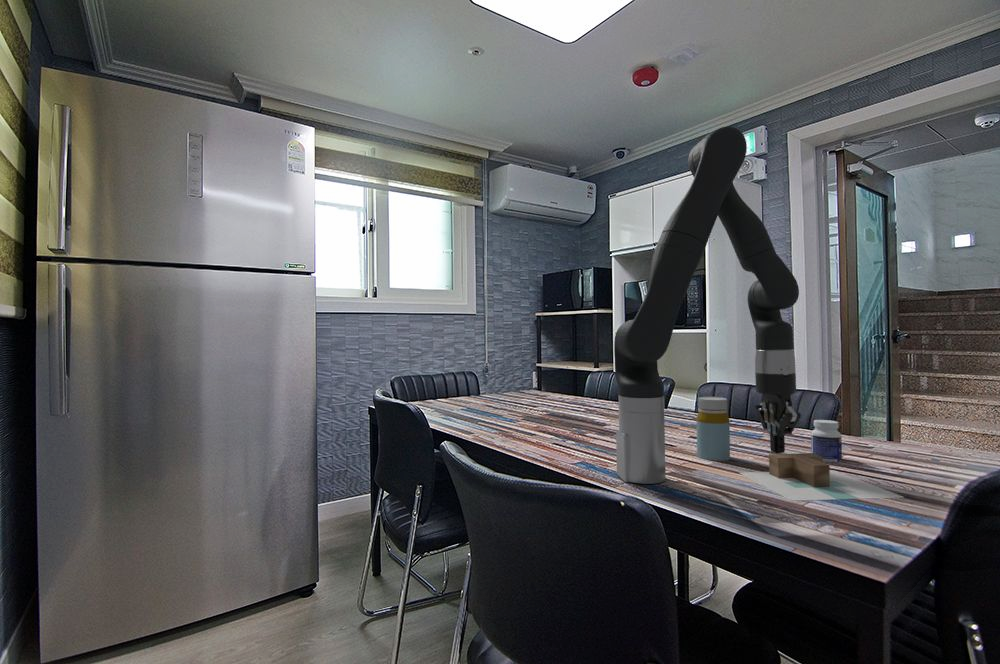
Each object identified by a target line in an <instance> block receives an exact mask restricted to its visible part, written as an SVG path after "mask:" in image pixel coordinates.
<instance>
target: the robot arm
mask: <svg viewBox="0 0 1000 664" xmlns="http://www.w3.org/2000/svg"><path fill="white" fill-rule="evenodd" d="M747 148H748V146H747V140H746V136H745V135H744V134H743V132H742V131H741V130H740V129H738V128H737V127H733V126H722V127H719V128H717V129H714V130H713V131H711V132H709V133H708V134H706V136H705V137H703V138H702V139H701V140H700V141H699V142H698V143H696V144H695V145H694V146H693V147H692V148H691V150H690V151H689V154H688V159H687V161H688V162H687V164H688V168H689V170H690V173H691V175H692V176H693V179H692V182H691V184H690V186H689V188H688V190H687V191H686V193H685V194H684V196H683V198H682V199H681V201H679V204H678V205H677V206H676V208H675V209H674V211H673V212H672V213H671V215H670V216H669V218H668V220H667V221H666V224H665V225H664V226H663V230H662V232H661V234H660V237H659V239H658V242H657V243H656V246H655V249H654V251H653V255H652V258H651V262H650V263H651V264H650V271H649V273H650V274H649V281H648V287H647V291H646V294H645V297H644V299H643V301H642V302H641V305H640V308H639V309H638V311H637V313H636V316H635V317H634V319H629V320H627V321H625V322H623V323H622V324H621V325H620V326H619V327H618V328H617V330H616V332H615V335H614V343H613V344H614V345H613V349H614V353H613V354H614V372H615V380H616V383H617V388H618V391H617V392H618V429H616V431H615V438H616V439H615V440H616V441H615V442H616V446H615V447H616V449H615V451H616V456H615V457H616V475H617V476H618V477H619V478H620V479H621V480H622V481H623V482H624V483H635V484H643V485H646V484H649V485H652V484H653V485H654V484H659V483H663V482H664V481H666V473H667V471H666V432H665V431H666V425H665V423H666V421H665V419H666V418H665V415H666V414H665V385H664V382H663V380H662V379H661V376H660V373H659V367H658V360H660V359H661V358H662V357H663V356H664V355H665V354H666V352H667V350H668V348H669V345H670V342H671V339H672V335H673V332H674V328H675V324H676V321H677V318H678V315H679V314H678V313H679V312H680V311H679V310H680V307H681V305H682V302H683V300H684V298H685V296H686V293H687V291H688V289H689V287H690V286H691V282H692V281H693V277H694V275H695V274H696V270H697V268H698V266H699V263H700V262H701V260H702V256H703V254H704V252H705V250H706V247H707V244H708V242H709V239H710V235H711V233H712V231H713V229H714V225H715V223H716V221H717V218H719V220H720V222H721V224H722V226H723V228H724V229H725V232H726V234H727V236H728V238H729V240H730V243H731V245H732V248H733V250H734V252H735V255H736V258H737V259H738V262H739V264H740V266H741V268H742V269H743V270H744V271H746V272H748V273H752V274H754V276H755V277H756V278H757V280H756V281H754V282H753V283H752V284H751V285H750V286H749V289H748V293H747V307H748V311H749V313H750V317H751V321H752V324H753V326H754V329H755V330H754V331H755V357H754V369H755V370H754V373H755V378H754V379H755V391H756V392H757V393H758V394H761V398H760V403H759V404H754V410H755V412H756V413H757V416H758V419H759V421H760V423H761V424H760V425H761V426H762V428H763V430H767V433H768V435H769V441H770V443H769V445H770V452H771V453H773V454H785V450H786V446H785V443H786V441H785V436H787V435H791V434H793V432H794V430H795V428H796V426H797V424H798V422H799V421H800V419H801V417H802V416H801V413H800V412H799V411H798V412H796V411H795V410H794V408H793V401H792V398H791V397H792V395H794V394H796V392H797V376H796V375H797V374H796V372H797V371H796V357H795V352H794V331H793V327H792V324H790V323H789V322H788V321H785V320H783V317H782V314H781V310H786V309H789V308H791V307H793V306H794V305H795V304H797V301H798V299H799V296H800V289H799V288H800V287H799V284H798V282H797V279H796V278H795V277H796V276H794V274H793V272H792V271H791V270H790V269H789V267H788V266H787V265H786V264H785V262H784V261H783V260H782V259H781V257H780V256H779V255H778V254H777V252H776V250H775V246H774V244H773V242H772V240H771V237H770V235H769V233H768V230H767V228H766V226H765V224H764V223H763V221H762V220H761V219H760V217H759V216H758V215H757V214H756V213H755V212H754V210H752V209H751V208H750V206H748V204H747V203H746V202H745V201H744V200H743V198H742V197H741V196H740V194H739V193H738V190H737V189H736V187H735V185H734V183H733V182H734V180H735V179H736V177H737V175H738V173H739V171H740V170H741V167H742V166H743V164H744V161H745V159H746V155H747Z"/></svg>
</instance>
